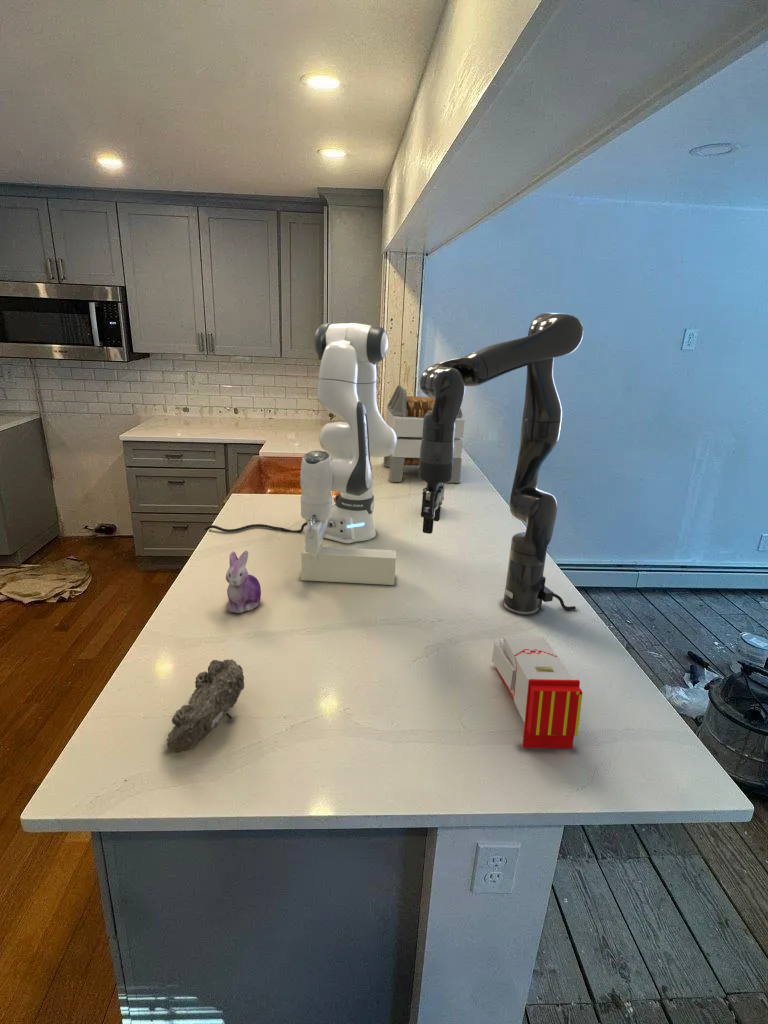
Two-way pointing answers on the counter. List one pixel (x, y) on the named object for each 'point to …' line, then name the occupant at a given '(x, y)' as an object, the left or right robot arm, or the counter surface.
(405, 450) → the transformer
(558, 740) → the toy
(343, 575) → the bar
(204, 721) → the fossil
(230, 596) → the figurine
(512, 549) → the right robot arm
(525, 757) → the counter surface
